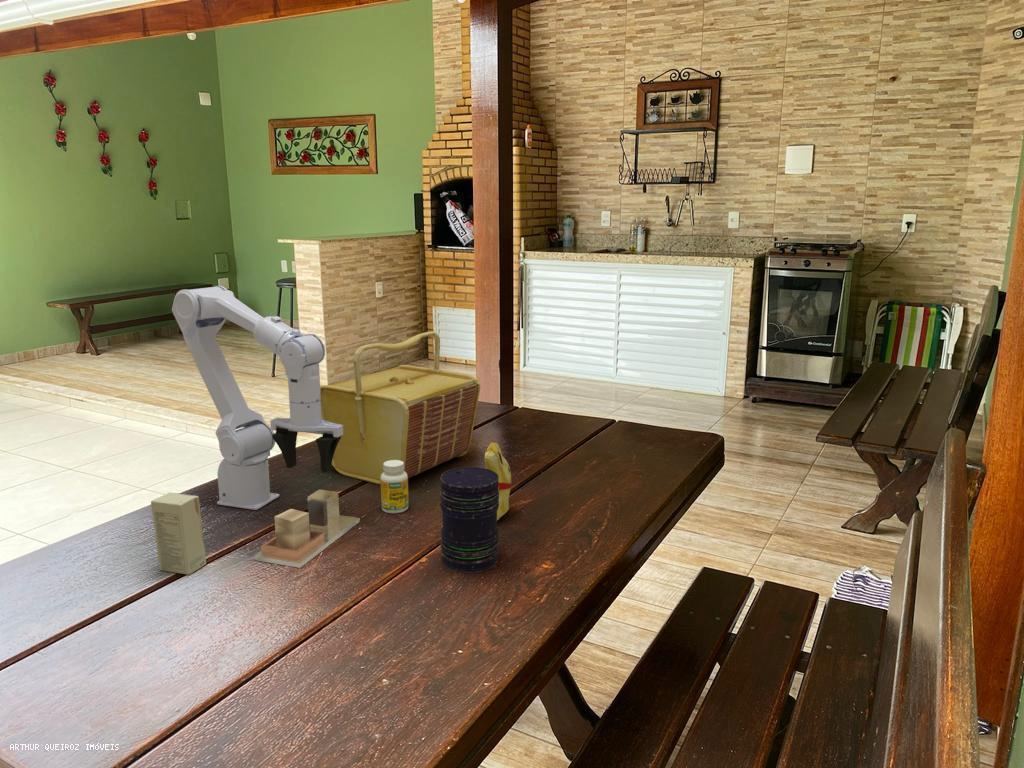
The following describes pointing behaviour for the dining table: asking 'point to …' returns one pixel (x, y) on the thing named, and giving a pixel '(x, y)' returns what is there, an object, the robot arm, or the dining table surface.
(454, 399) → the picnic basket
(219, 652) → the dining table surface
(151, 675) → the dining table surface
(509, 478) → the chocolate bunny
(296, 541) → the block
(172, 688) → the dining table surface
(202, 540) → the skincare box
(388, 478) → the supplement bottle
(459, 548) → the storage jar
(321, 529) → the cream holder stand
